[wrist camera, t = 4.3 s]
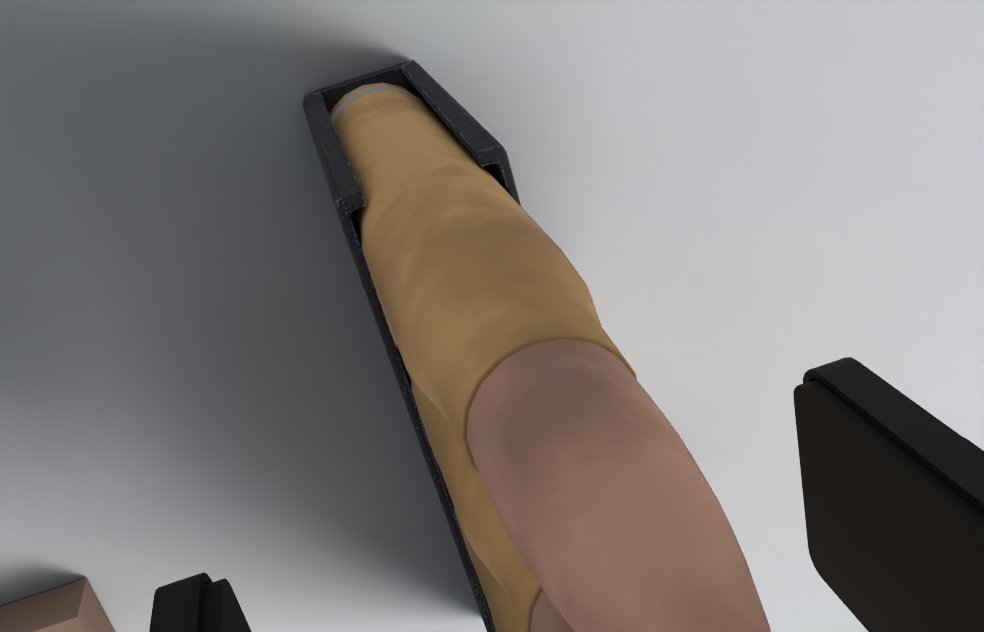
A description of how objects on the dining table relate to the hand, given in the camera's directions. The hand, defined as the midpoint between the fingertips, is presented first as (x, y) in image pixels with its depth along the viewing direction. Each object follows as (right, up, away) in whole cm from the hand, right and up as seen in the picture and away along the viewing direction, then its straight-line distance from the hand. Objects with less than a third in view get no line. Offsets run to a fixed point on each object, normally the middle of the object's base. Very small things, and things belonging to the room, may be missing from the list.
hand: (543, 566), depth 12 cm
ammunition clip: (-1, +2, +5) cm, 6 cm away
